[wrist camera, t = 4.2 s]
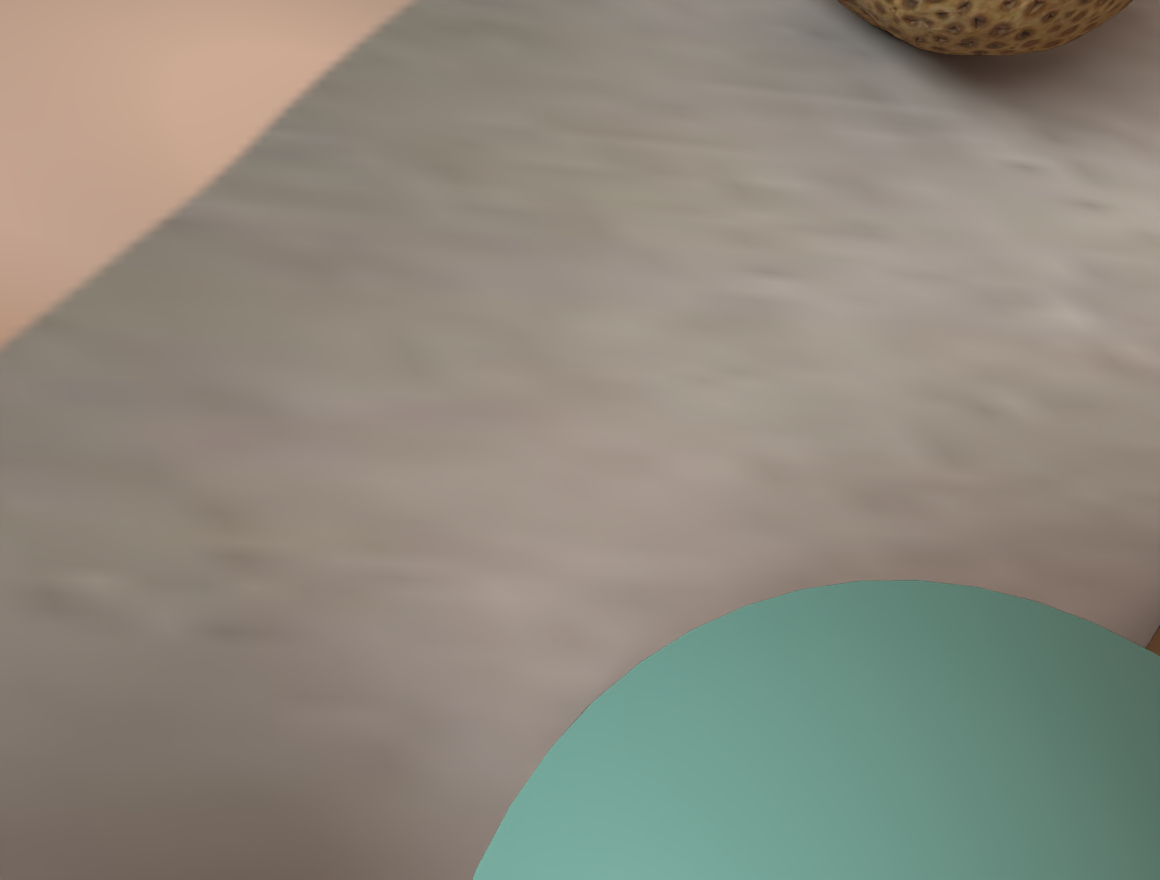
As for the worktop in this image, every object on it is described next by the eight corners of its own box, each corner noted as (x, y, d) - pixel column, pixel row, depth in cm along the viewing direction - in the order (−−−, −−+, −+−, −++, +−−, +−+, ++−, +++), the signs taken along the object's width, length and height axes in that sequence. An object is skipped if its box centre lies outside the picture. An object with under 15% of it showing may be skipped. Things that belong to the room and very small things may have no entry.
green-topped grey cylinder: (815, 782, 15) (1729, 1066, 3) (679, 979, 14) (1262, 2610, 2) (643, 635, 16) (823, 407, 4) (503, 809, 15) (176, 1215, 3)
